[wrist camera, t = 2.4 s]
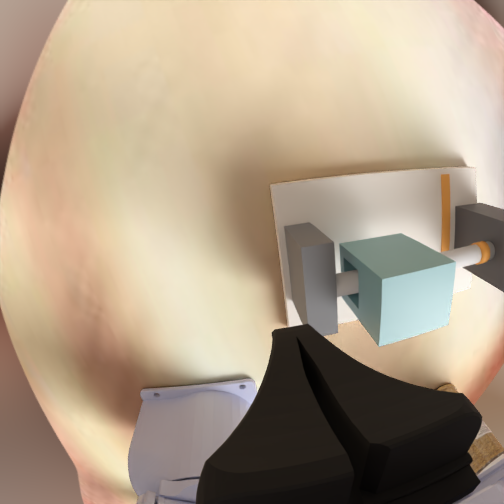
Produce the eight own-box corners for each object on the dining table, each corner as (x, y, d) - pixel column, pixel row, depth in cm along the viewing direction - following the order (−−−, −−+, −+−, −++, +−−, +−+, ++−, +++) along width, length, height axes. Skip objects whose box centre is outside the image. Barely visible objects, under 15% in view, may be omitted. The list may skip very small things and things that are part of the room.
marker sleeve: (341, 297, 17) (379, 346, 12) (339, 243, 16) (382, 279, 11) (400, 284, 18) (448, 324, 13) (400, 232, 17) (456, 261, 12)
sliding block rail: (287, 326, 22) (310, 394, 15) (269, 184, 19) (293, 198, 12) (467, 282, 22) (521, 318, 15) (471, 166, 19) (538, 177, 12)
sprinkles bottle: (415, 406, 26) (472, 498, 13) (446, 376, 25) (515, 462, 12) (431, 417, 27) (484, 498, 14) (459, 389, 26) (520, 465, 13)
